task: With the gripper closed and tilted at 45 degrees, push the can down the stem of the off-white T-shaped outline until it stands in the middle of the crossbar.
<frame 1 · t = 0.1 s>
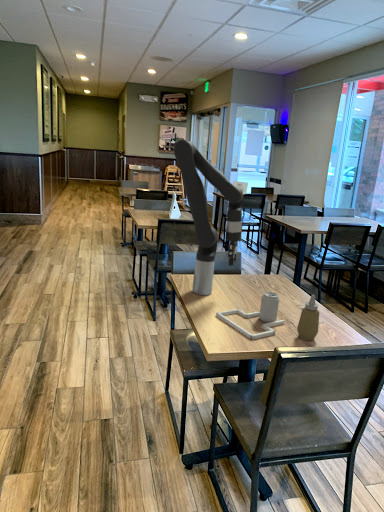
hand: (232, 263, 188), 17 cm above the table, tool pointing down, fingers open, 8 cm apart
can: (267, 320, 168), on the table
squeeze bottle: (306, 338, 154), on the table
t outline: (244, 324, 161), on the table
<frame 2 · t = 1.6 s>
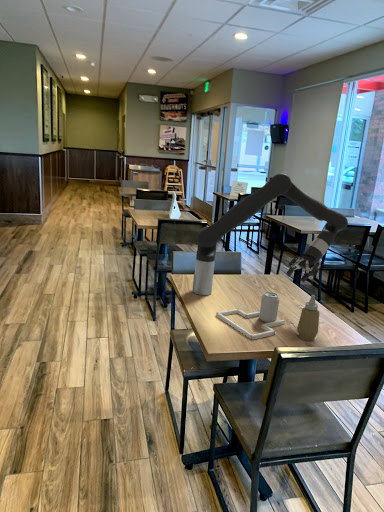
hand: (294, 278, 170), 18 cm above the table, tool tilted 45°, fingers open, 8 cm apart
nothing on the table moved.
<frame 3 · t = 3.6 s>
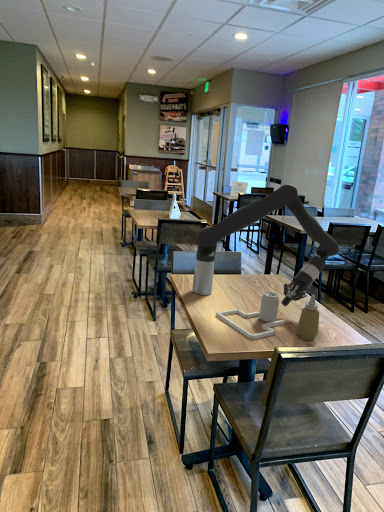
hand: (283, 304, 171), 6 cm above the table, tool tilted 45°, fingers closed
nothing on the table moved.
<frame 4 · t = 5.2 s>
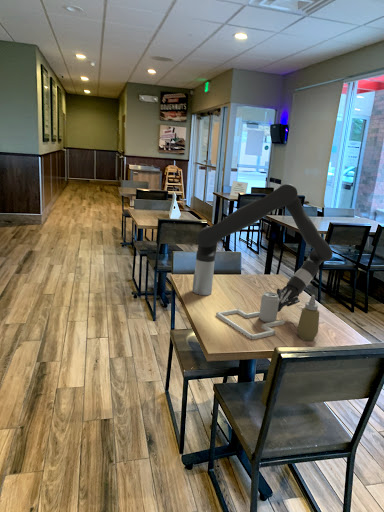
hand: (275, 310, 169), 4 cm above the table, tool tilted 45°, fingers closed
can: (267, 320, 168), on the table, touching gripper
everything else where it was.
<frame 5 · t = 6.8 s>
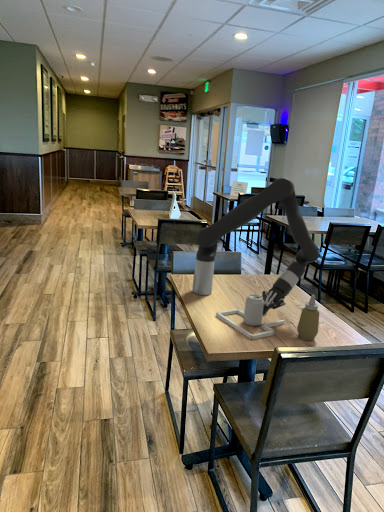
hand: (261, 313, 165), 4 cm above the table, tool tilted 45°, fingers closed
can: (252, 323, 164), on the table, touching gripper
everything else where it was.
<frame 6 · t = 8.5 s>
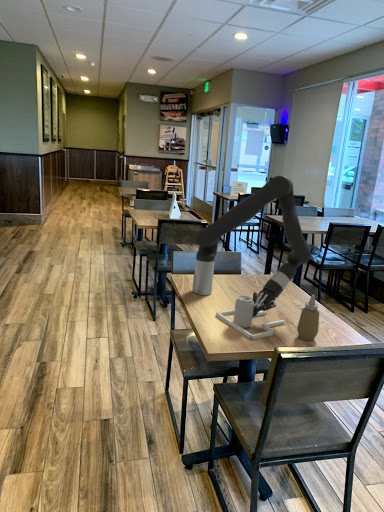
hand: (251, 315, 162), 4 cm above the table, tool tilted 45°, fingers closed
can: (241, 325, 161), on the table, touching gripper
everything else where it was.
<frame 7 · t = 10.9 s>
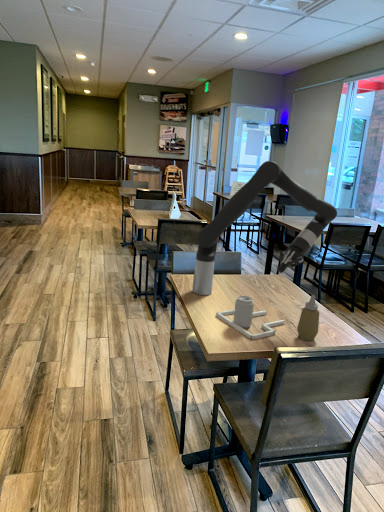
hand: (279, 271, 164), 22 cm above the table, tool tilted 45°, fingers closed
can: (241, 325, 161), on the table
everything else where it was.
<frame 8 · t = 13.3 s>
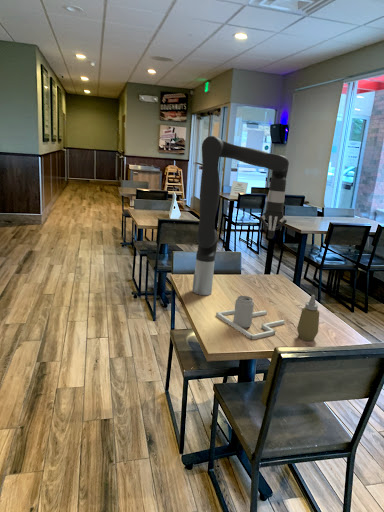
hand: (270, 238, 180), 32 cm above the table, tool pointing down, fingers closed
nothing on the table moved.
at the end: can 1.1 cm from the t outline (horizontally); can tilted 0° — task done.
